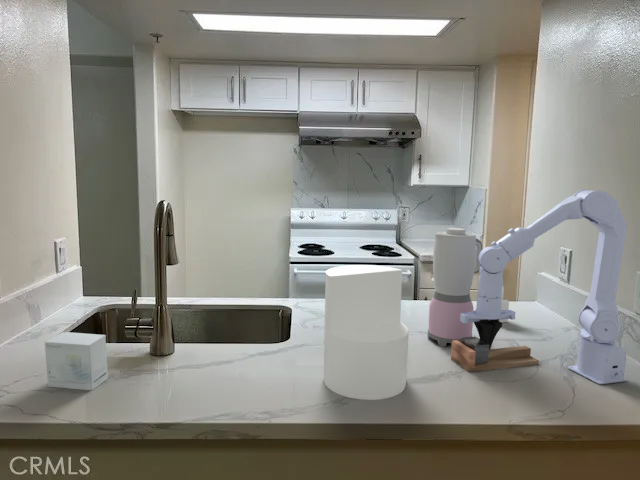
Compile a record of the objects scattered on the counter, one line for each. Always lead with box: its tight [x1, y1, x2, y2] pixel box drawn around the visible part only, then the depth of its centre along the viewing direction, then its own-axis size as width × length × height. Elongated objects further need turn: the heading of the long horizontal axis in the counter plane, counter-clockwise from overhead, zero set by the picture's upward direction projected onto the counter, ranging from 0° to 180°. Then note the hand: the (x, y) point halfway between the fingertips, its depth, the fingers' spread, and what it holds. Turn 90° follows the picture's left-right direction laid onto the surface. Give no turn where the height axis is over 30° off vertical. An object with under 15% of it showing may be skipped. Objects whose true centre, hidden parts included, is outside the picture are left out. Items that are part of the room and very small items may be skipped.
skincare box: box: [44, 331, 109, 391], centre depth 102 cm, size 10×6×10 cm, turn 82°
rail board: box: [450, 340, 540, 373], centre depth 118 cm, size 8×20×5 cm, turn 106°
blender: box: [427, 227, 483, 347], centre depth 132 cm, size 16×12×32 cm
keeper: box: [461, 336, 489, 364], centre depth 116 cm, size 6×4×5 cm
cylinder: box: [323, 264, 409, 401], centre depth 105 cm, size 19×19×25 cm
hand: (485, 348), depth 117 cm, fingers closed
